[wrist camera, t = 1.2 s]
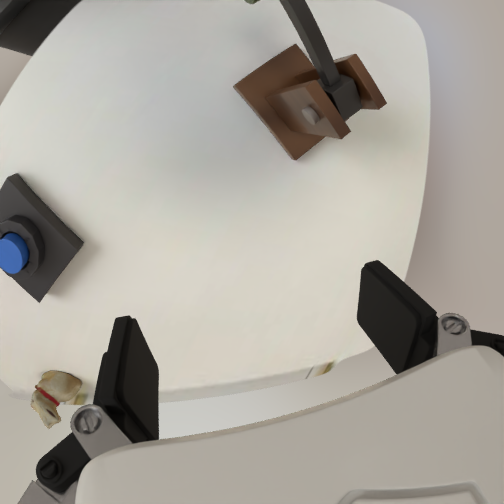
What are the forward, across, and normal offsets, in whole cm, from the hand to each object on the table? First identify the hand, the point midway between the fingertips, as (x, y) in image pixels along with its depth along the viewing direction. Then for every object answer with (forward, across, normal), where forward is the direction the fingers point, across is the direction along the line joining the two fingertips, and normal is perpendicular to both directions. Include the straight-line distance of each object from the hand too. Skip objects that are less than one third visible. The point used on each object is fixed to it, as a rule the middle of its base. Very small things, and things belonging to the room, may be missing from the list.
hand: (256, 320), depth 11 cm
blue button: (+18, +23, 0) cm, 29 cm away
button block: (+21, +23, 0) cm, 31 cm away
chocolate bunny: (+21, +31, +24) cm, 44 cm away
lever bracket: (+21, -10, -8) cm, 25 cm away
